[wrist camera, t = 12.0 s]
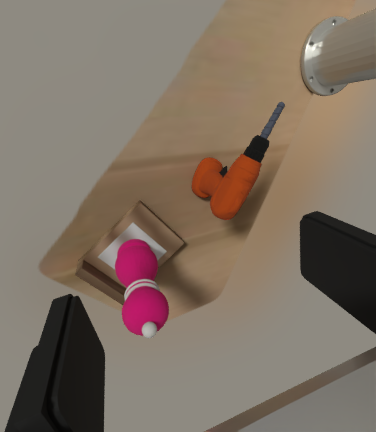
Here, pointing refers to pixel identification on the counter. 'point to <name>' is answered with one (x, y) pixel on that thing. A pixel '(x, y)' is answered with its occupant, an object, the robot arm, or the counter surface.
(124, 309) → the pepper mill
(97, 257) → the brown picture frame
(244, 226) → the counter surface
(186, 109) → the counter surface
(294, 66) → the counter surface
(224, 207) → the toy drill
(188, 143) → the counter surface
